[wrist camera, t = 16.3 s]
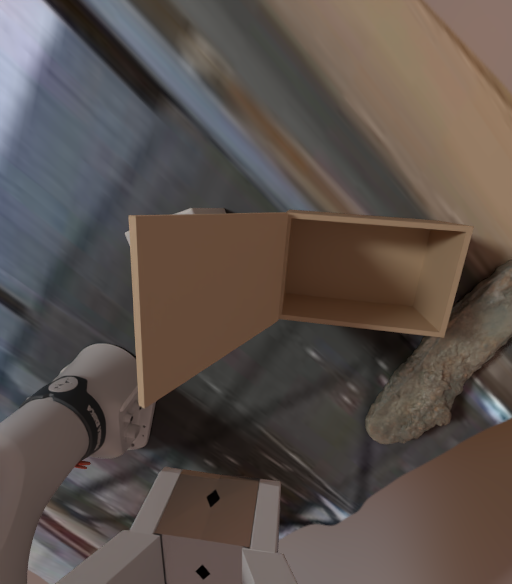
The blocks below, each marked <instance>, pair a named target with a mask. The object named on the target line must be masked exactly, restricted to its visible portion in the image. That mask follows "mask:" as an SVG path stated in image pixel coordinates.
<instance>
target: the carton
mask: <svg viewBox="0 0 512 584" xmlns="http://www.w3.org/2000/svg"><path fill="white" fill-rule="evenodd" d="M286 213H288V223H287V233H286V244H285V254H284V265H283V275H282V286H281V297H280V307H279V318H278V319H285V320H293V321H302V322H311V323H320V324H328V325H337V326H346V327H355V328H364V329H372V330H381V331H390V332H399V333H407V334H416V335H425V336H434V337H442V338H444V336H445V332H446V329H447V325H448V321H449V317H450V314H451V310H452V306H453V303H454V299H455V295H456V291H457V288H458V284H459V280H460V277H461V273H462V269H463V265H464V262H465V258H466V254H467V251H468V247H469V243H470V239H471V236H472V232H473V228H474V226H467V225H461V224H455V223H449V222H442V221H436V220H423V219H410V218H396V217H383V216H369V215H356V214H342V213H329V212H315V211H302V210H288V211H287V212H286Z"/></svg>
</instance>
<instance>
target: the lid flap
mask: <svg viewBox="0 0 512 584" xmlns="http://www.w3.org/2000/svg"><path fill="white" fill-rule="evenodd" d="M287 223H288V213H285V212H279V213H229V214H179V215H129V232H130V251H131V270H132V289H133V308H134V326H135V345H136V364H137V383H138V402H139V406H141V407H142V408H144V409H145V408H146V407H148V406H149V405H151V404H152V403H154V402H155V401H157V400H159V399H160V398H162V397H163V396H165V395H166V394H168V393H169V392H171V391H172V390H174V389H175V388H177V387H178V386H180V385H181V384H183V383H184V382H186V381H187V380H189V379H190V378H192V377H193V376H195V375H196V374H198V373H199V372H201V371H203V370H204V369H206V368H207V367H209V366H210V365H212V364H213V363H215V362H216V361H218V360H219V359H221V358H222V357H224V356H225V355H227V354H228V353H230V352H231V351H233V350H234V349H236V348H237V347H239V346H240V345H242V344H243V343H245V342H247V341H248V340H250V339H251V338H253V337H254V336H256V335H257V334H259V333H260V332H262V331H263V330H265V329H266V328H268V327H269V326H271V325H272V324H274V323H275V322H277V321H278V318H279V307H280V297H281V286H282V275H283V265H284V254H285V244H286V233H287Z"/></svg>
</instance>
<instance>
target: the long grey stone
mask: <svg viewBox="0 0 512 584" xmlns="http://www.w3.org/2000/svg"><path fill="white" fill-rule="evenodd" d="M511 337H512V260H509V261H508V262H507V263H505V264H503V265H501V266H499V267H498V268H497V269H496V270H495V272H494V273H493V274H492V275H491V276H490V277H489V278H487V279H485V280H483V281H481V282H479V283H478V285H477V286H475V287H474V289H473V290H472V291H471V292H470V293H468V294H466V295H465V296H464V298H463V299H462V300H460V301H459V302H458V303H456V304H455V305H454V306H452V310H451V314H450V317H449V321H448V325H447V329H446V332H445V336H444V338H442V337H434V336H425V337H423V339H422V342H421V344H420V345H419V346H418V347H417V349H416V350H414V353H413V354H412V355H411V356H410V357H408V359H407V361H406V362H405V363H402V364H401V365H400V366H399V368H398V369H396V370H395V371H394V373H393V375H392V376H391V378H390V381H389V382H388V383H387V384H386V385H385V387H384V390H383V391H382V392H380V393H379V394H378V396H377V397H376V400H375V402H374V403H373V404H372V405H371V408H370V410H369V412H368V415H367V416H366V420H365V422H366V425H365V427H366V430H367V432H368V434H369V436H370V437H371V438H372V439H373V440H375V441H377V442H379V443H381V444H392V443H395V442H401V443H405V442H406V441H409V440H411V439H413V438H414V439H418V438H419V437H420V436H421V435H422V434H423V433H424V432H425V431H428V430H429V429H430V428H432V427H434V426H435V425H436V424H437V425H439V426H442V425H447V424H448V423H450V420H451V412H450V410H451V408H452V404H453V403H454V399H455V397H456V396H457V395H459V394H461V393H462V391H463V385H464V383H465V382H466V380H468V379H469V378H470V377H471V375H472V374H473V372H475V371H476V370H477V369H480V368H481V367H482V365H483V364H484V363H486V362H487V361H488V360H490V359H491V358H492V357H493V356H494V354H495V353H496V351H497V350H499V348H500V347H501V346H503V345H505V344H506V343H507V341H508V339H509V338H511Z"/></svg>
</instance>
